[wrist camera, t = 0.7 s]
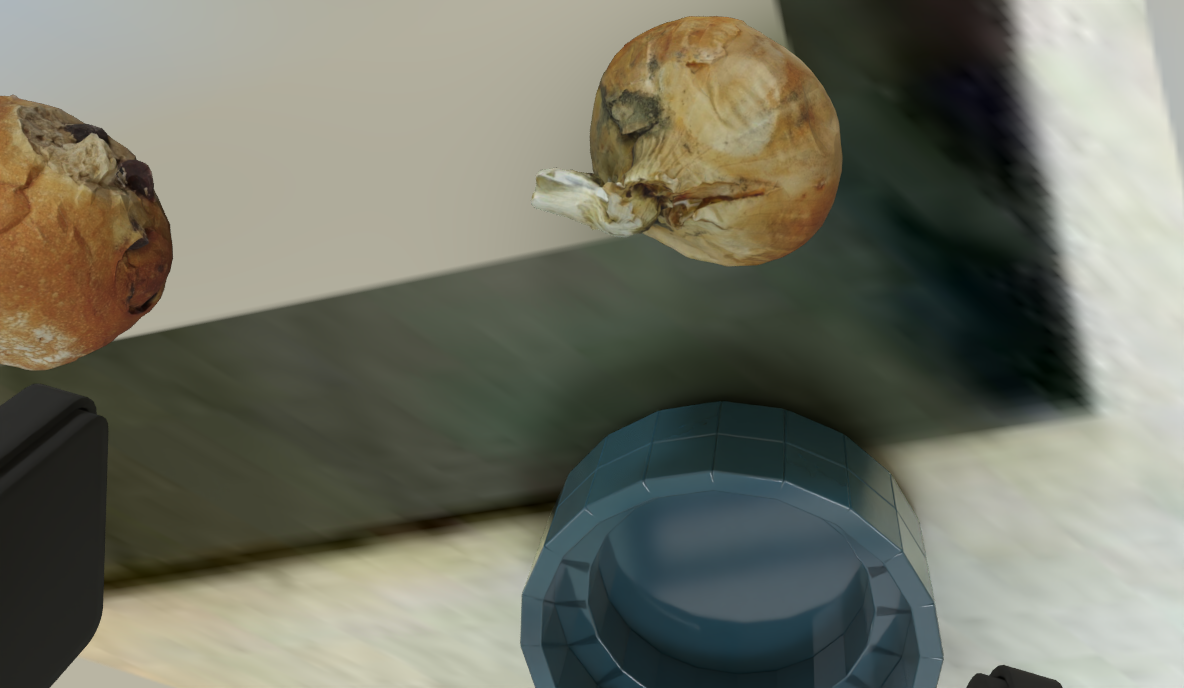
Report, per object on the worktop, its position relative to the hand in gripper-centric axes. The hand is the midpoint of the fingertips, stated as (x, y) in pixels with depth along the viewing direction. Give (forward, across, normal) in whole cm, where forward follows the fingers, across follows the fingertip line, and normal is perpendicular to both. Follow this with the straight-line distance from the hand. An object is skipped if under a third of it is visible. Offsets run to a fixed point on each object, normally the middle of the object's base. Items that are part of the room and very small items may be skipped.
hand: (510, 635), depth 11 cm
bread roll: (+27, +22, +11) cm, 37 cm away
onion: (+27, -1, +1) cm, 27 cm away
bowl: (+27, -6, +17) cm, 32 cm away
